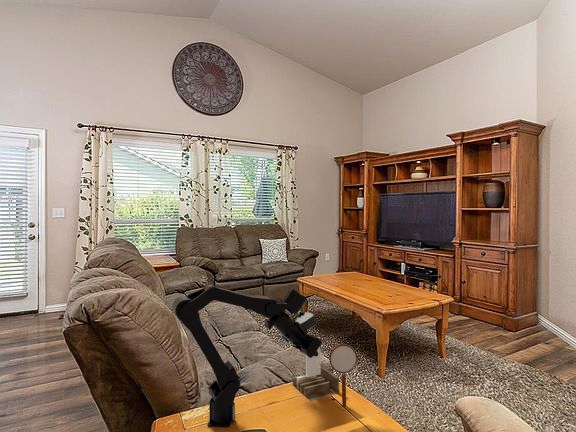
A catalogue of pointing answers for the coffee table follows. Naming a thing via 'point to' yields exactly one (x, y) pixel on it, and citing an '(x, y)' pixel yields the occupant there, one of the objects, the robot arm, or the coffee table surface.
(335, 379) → the offcut rack
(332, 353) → the magnifying glass
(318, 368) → the white flat board
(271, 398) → the coffee table surface
